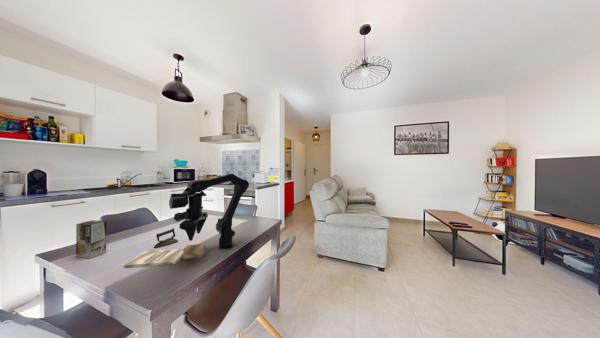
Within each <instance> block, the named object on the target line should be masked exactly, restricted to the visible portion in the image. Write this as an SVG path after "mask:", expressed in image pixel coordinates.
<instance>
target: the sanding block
mask: <svg viewBox="0 0 600 338" xmlns="http://www.w3.org/2000/svg"><path fill="white" fill-rule="evenodd" d="M205 248H206V244H205V243H202V244H201V243H199V244H198V243H197V244H187V245H186V246H185V247H184V248H182V249H183V257H182V260H195V259H197V260H198V259H202V258H203V256H204V255H205V253H206V251H205V250H206V249H205Z"/></svg>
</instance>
